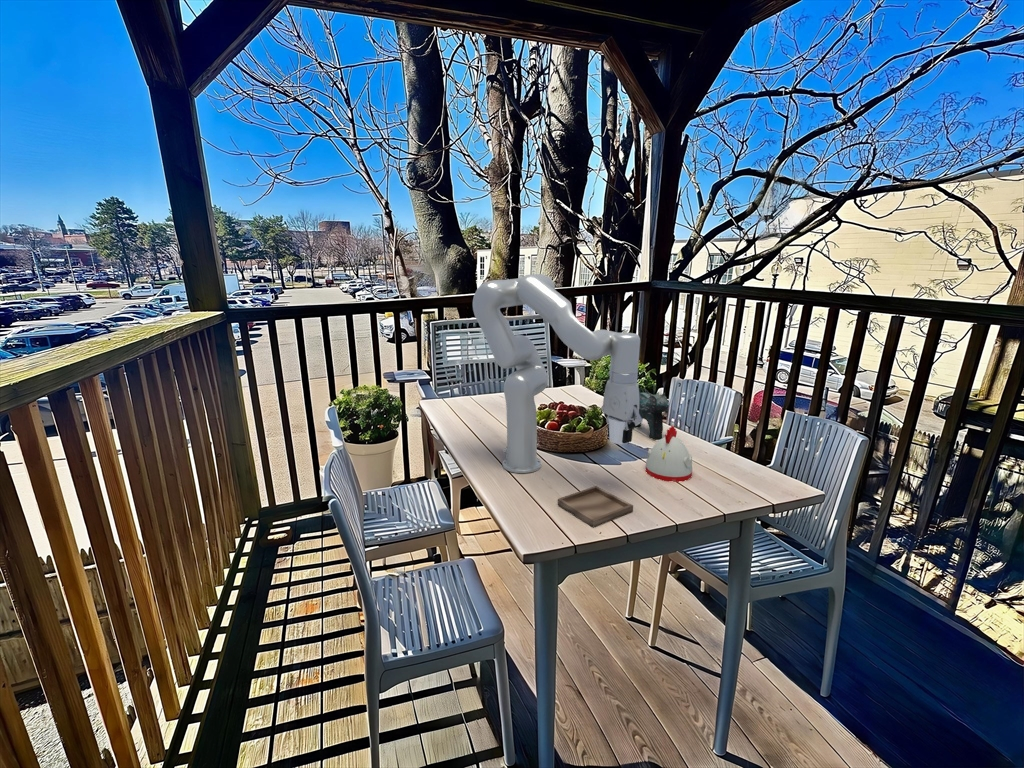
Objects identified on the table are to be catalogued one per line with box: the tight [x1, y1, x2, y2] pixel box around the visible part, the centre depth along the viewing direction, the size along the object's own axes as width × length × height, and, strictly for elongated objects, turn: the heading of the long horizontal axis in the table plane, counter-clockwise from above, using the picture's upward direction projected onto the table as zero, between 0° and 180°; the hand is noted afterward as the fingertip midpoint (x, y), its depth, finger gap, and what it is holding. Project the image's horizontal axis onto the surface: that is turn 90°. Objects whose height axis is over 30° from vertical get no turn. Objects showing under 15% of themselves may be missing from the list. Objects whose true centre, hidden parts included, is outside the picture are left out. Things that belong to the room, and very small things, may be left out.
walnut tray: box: [557, 485, 634, 528], centre depth 127 cm, size 14×14×2 cm
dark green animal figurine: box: [634, 383, 669, 441], centre depth 182 cm, size 20×6×20 cm, turn 14°
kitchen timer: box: [645, 425, 693, 483], centre depth 148 cm, size 14×14×15 cm
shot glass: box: [608, 416, 631, 445], centre depth 136 cm, size 7×7×7 cm
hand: (619, 438), depth 137 cm, fingers closed on shot glass, 5 cm apart
